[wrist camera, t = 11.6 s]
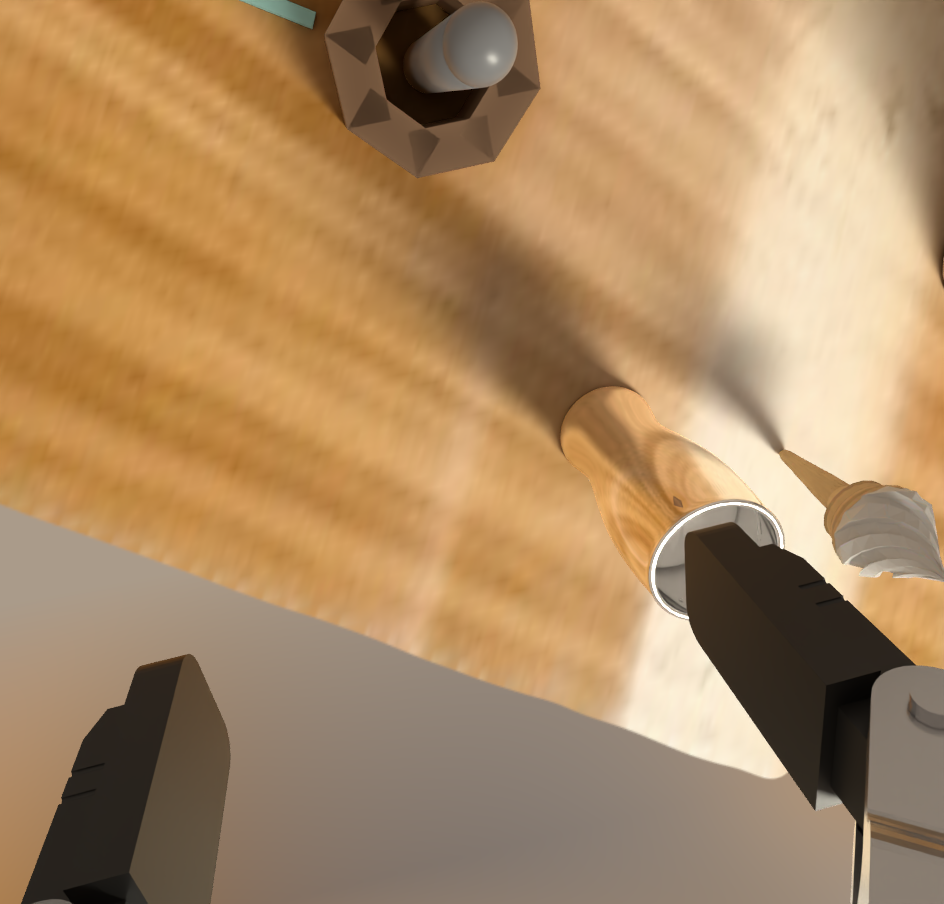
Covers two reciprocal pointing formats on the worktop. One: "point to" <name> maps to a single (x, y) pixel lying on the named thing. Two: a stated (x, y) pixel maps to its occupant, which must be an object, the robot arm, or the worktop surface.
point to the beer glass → (656, 488)
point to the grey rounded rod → (463, 51)
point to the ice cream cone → (874, 523)
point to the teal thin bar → (286, 11)
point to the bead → (399, 135)
